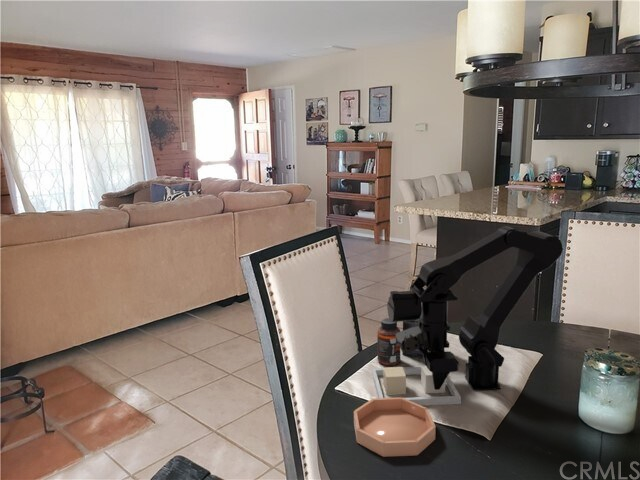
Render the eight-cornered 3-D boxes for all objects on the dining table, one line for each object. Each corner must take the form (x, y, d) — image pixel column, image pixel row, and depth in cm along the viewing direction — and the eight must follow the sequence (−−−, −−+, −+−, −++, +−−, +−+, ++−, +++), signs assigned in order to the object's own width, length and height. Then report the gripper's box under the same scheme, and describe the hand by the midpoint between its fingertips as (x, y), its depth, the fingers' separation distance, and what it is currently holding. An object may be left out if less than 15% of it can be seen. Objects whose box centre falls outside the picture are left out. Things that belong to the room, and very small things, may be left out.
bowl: (422, 408, 102) (422, 396, 102) (441, 454, 87) (442, 441, 87) (351, 411, 102) (351, 399, 102) (359, 457, 87) (358, 444, 87)
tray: (442, 371, 118) (442, 366, 117) (460, 403, 103) (461, 397, 103) (372, 374, 117) (371, 368, 117) (380, 407, 103) (380, 400, 103)
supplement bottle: (400, 367, 121) (400, 325, 118) (376, 365, 122) (376, 324, 119) (400, 356, 126) (401, 316, 124) (378, 355, 128) (378, 315, 125)
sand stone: (402, 384, 113) (402, 366, 112) (405, 394, 108) (406, 376, 107) (383, 384, 113) (383, 367, 112) (386, 395, 108) (386, 376, 107)
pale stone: (439, 382, 113) (440, 365, 112) (445, 392, 108) (445, 374, 107) (421, 383, 113) (421, 366, 112) (425, 393, 108) (425, 375, 107)
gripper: (391, 305, 116) (391, 364, 119) (407, 336, 98) (406, 405, 101) (437, 303, 116) (435, 362, 119) (460, 334, 98) (458, 403, 101)
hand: (433, 381), depth 110 cm, fingers open, 7 cm apart
